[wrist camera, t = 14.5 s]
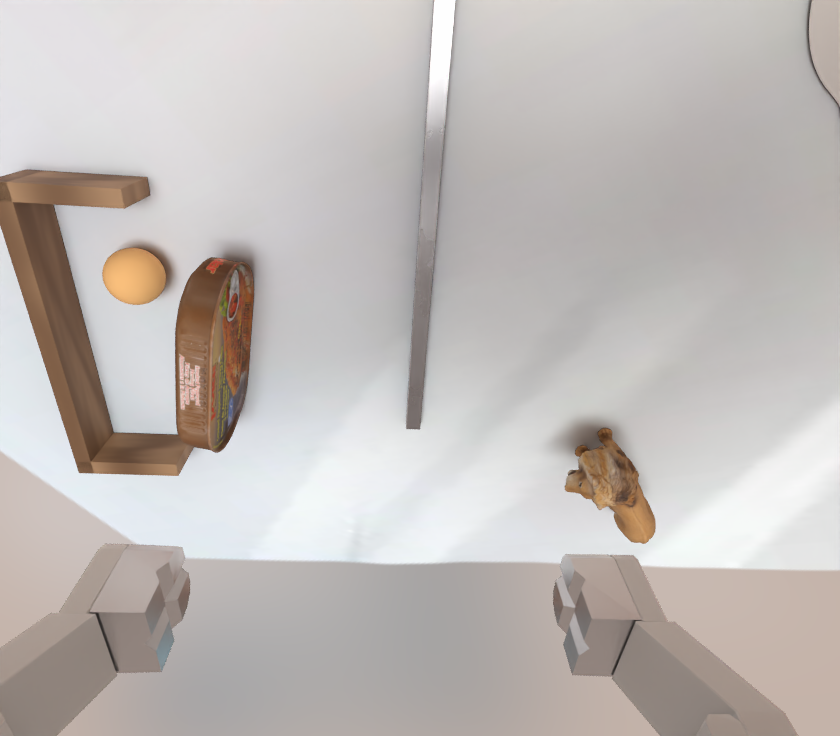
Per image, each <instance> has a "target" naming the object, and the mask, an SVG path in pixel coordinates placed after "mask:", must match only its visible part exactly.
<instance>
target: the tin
mask: <svg viewBox="0 0 840 736" xmlns="http://www.w3.org/2000/svg"><path fill="white" fill-rule="evenodd" d="M253 299H254V284H253V275H252V271H251V269H250V267H249V265H248V264H247V263H245V262H234V261H230V260H225V259H221V258H209V259H207V260H205V261H204V262H203V263H202V264H201V265H200V266H199V267H198V268H197V269H196V270H195V271H194V272H193V273H192V274H191V276H190V278H189V279H188V282H187V284H186V286H185V289H184V291H183V294H182V297H181V301H180V304H179V309H178V315H177V322H176V331H175V365H176V366H175V372H176V375H175V378H176V424H177V432H178V435H179V438H180V440H181V441H182V442H183V443H184V444H186V445H189V446H193V447H197V448H202V449H208V450H212V451H213V452H216V453H218V452H220V451H222V450H223V449H224V448H225V446H226V445H227V443H228V442H229V440H230V438H231V436H232V434H233V432H234V429H235V427H236V424H237V421H238V419H239V416H240V413H241V410H242V406H243V403H244V399H245V394H246V389H247V381H248V372H249V357H250V342H251V328H252V314H253Z"/></svg>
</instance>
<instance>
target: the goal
mask: <svg viewBox="0 0 840 736" xmlns="http://www.w3.org/2000/svg"><path fill="white" fill-rule="evenodd" d="M149 195H150V191H149V185H148V180H147V177H136V176H120V175H104V174H88V173H72V172H55V171H39V170H23V171H19V172H16V173H12V174H9V175H5V176H1V177H0V226H1V229H2V232H3V235H4V238H5V241H6V245H7V248H8V251H9V254H10V257H11V260H12V263H13V267H14V270H15V273H16V276H17V279H18V282H19V285H20V289H21V292H22V295H23V298H24V301H25V304H26V307H27V311H28V314H29V317H30V320H31V323H32V326H33V329H34V333H35V336H36V339H37V342H38V345H39V348H40V351H41V355H42V358H43V361H44V364H45V367H46V370H47V374H48V377H49V380H50V383H51V386H52V389H53V392H54V396H55V399H56V402H57V405H58V408H59V411H60V414H61V418H62V421H63V424H64V427H65V430H66V433H67V436H68V440H69V443H70V446H71V449H72V452H73V455H74V458H75V462H76V465H77V468H78V471H79V473H99V474H133V475H168V476H179V474H180V472H181V470H182V468H183V466H184V464H185V463H186V461H187V459H188V457H189V455H190V453H191V451H192V450H193V448H194V447H193V446H189V445H186V444H184V443H183V442H182V441H181V440H180V438H179V435H167V434H137V433H113V429H112V425H111V421H110V417H109V414H108V410H107V406H106V402H105V399H104V395H103V391H102V387H101V383H100V380H99V376H98V372H97V368H96V365H95V361H94V357H93V353H92V349H91V346H90V342H89V338H88V334H87V331H86V327H85V323H84V319H83V315H82V312H81V308H80V304H79V300H78V297H77V293H76V289H75V285H74V281H73V278H72V274H71V270H70V266H69V262H68V259H67V255H66V251H65V247H64V244H63V240H62V236H61V232H60V228H59V225H58V221H57V217H56V213H55V210H54V206H53V204H56V205H74V206H91V207H108V208H126V207H128V206H130V205H132V204H134V203H136V202H138V201H140V200H142V199H144V198H146V197H148V196H149Z"/></svg>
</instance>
